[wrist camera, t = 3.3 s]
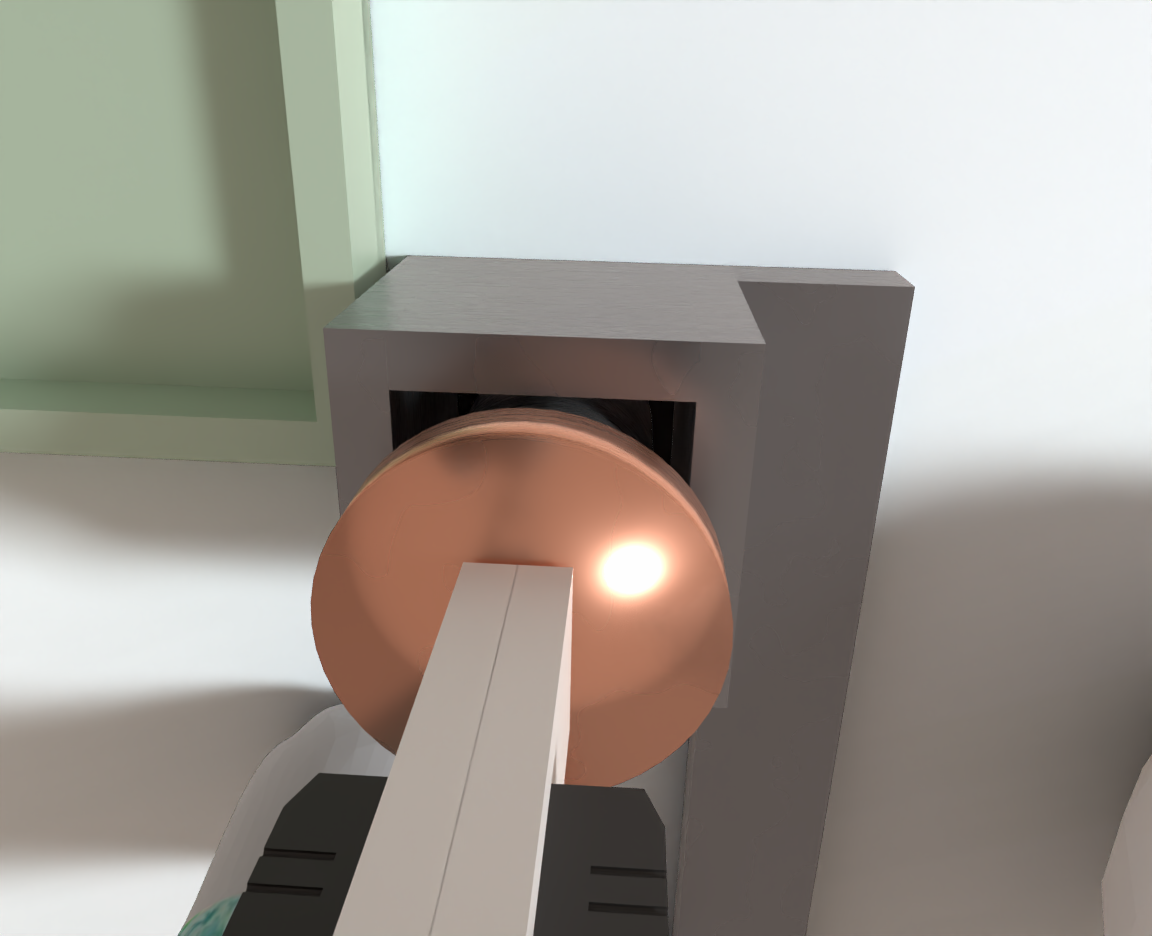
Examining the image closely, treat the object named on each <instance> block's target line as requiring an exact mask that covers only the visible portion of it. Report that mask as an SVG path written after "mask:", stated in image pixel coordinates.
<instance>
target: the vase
mask: <svg viewBox="0 0 1152 936" xmlns="http://www.w3.org/2000/svg"><path fill="white" fill-rule="evenodd" d="M1101 884H1102V904H1103V924H1104V936H1152V755H1151V756H1150V758H1149V759H1148V761H1147V762H1146V764H1145V765H1144V766H1143V768H1142V770H1141V773H1140V775H1139V778H1138V780H1137V783H1136V785H1135V788H1134V790H1133V793H1132V795H1131V797H1130V800H1129V802H1128V805H1127V807H1126V810H1125V812H1124V815H1123V817H1122V820H1121V824H1120V827H1119V830H1118V833H1117V836H1116V839H1115V842H1114V845H1113V848H1112V851H1111V854H1110V857H1109V861H1108V864H1107V867H1106V870H1105V873H1104V876H1103V879H1102V882H1101Z"/></svg>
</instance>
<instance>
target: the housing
mask: <svg viewBox="0 0 1152 936" xmlns="http://www.w3.org/2000/svg"><path fill="white" fill-rule="evenodd" d="M914 289H915V287H914V286H913V285H912V284H911V283H909V282H908V281H907V280H906V279H905V278H903V277H902V276H901V275H900V274H898V273H897V272H896V271H874V270H843V269H812V268H781V267H750V266H719V265H688V264H657V263H626V262H595V261H564V260H533V259H502V258H471V257H440V256H409V255H408V256H407V257H406V258H404V259H403V260H402V261H401V262H400V263H399V264H397V265H396V266H395V267H394V268H393V269H392V270H390V271H389V272H388V273H387V274H386V275H385V276H383V277H382V278H381V279H380V280H379V281H378V282H376V283H375V284H374V285H373V286H372V287H370V288H369V289H368V290H367V291H366V292H365V293H363V294H362V295H361V296H360V297H359V298H358V299H356V300H355V301H354V302H353V303H352V304H351V305H349V306H348V307H347V308H346V309H345V310H343V311H342V312H341V313H340V314H339V315H338V316H336V317H335V318H334V319H333V320H332V321H331V322H329V323H328V324H327V325H326V326H325V327H324V328H323V334H324V345H325V356H326V367H327V378H328V389H329V399H330V410H331V421H332V432H333V443H334V453H335V464H336V475H337V486H338V497H339V508H340V518H341V516H342V515H343V513H344V512H345V510H346V508H347V507H348V505H349V504H350V502H351V501H352V499H353V498H354V496H355V495H356V493H357V492H358V490H359V489H360V487H361V486H362V484H363V483H364V481H365V480H366V478H367V477H368V476H369V474H370V473H371V472H372V471H373V470H374V469H375V468H376V467H377V466H378V465H379V463H380V462H381V461H382V460H383V459H384V458H385V457H387V456H388V455H389V454H390V453H391V452H393V451H394V450H395V449H396V448H398V447H399V446H400V445H401V444H402V443H404V442H406V441H407V440H409V439H411V438H412V437H414V436H416V435H417V434H419V433H420V432H422V431H424V430H426V429H428V428H430V427H433V426H435V425H437V424H440V423H442V422H444V421H447V420H449V419H453V418H456V417H459V410H458V393H477V394H503V395H528V396H554V397H579V398H605V399H630V400H656V401H675V402H674V417H673V432H672V447H671V462H670V466H671V467H672V468H673V469H674V470H675V471H676V472H677V473H678V474H679V475H680V476H681V478H682V479H683V480H684V481H685V482H686V483H687V485H688V486H689V487H690V488H691V489H692V490H693V492H694V493H695V495H696V497H697V498H698V500H699V501H700V503H701V504H702V506H703V507H704V509H705V511H706V512H707V515H708V517H709V519H710V521H711V523H712V526H713V528H714V530H715V532H716V535H717V538H718V542H719V545H720V549H721V552H722V556H723V561H724V567H725V573H726V578H727V584H728V590H729V596H730V602H731V610H732V618H733V647H732V652H731V658H730V663H729V669H728V672H727V675H726V678H725V680H724V683H723V686H722V689H721V692H720V694H719V696H718V697H717V699H716V701H715V703H714V705H713V707H712V709H711V711H710V712H709V714H708V715H707V716H706V718H705V719H704V720H703V722H702V723H701V725H700V726H699V727H698V729H697V730H696V731H695V732H694V733H693V734H692V735H691V736H690V737H689V747H688V758H687V770H686V781H685V793H684V804H683V816H682V827H681V839H680V850H679V862H678V873H677V885H676V896H675V908H674V919H673V931H672V936H805V935H806V929H807V923H808V917H809V911H810V905H811V899H812V893H813V888H814V882H815V876H816V870H817V864H818V858H819V852H820V846H821V840H822V834H823V828H824V822H825V816H826V811H827V805H828V799H829V793H830V787H831V781H832V775H833V769H834V763H835V757H836V751H837V745H838V740H839V734H840V728H841V722H842V716H843V710H844V704H845V698H846V692H847V686H848V680H849V674H850V668H851V663H852V657H853V651H854V645H855V639H856V633H857V627H858V621H859V615H860V609H861V603H862V597H863V591H864V586H865V580H866V574H867V568H868V562H869V556H870V550H871V544H872V538H873V532H874V526H875V520H876V514H877V509H878V503H879V497H880V491H881V485H882V479H883V473H884V467H885V461H886V455H887V449H888V443H889V437H890V432H891V426H892V420H893V414H894V408H895V402H896V396H897V390H898V384H899V378H900V372H901V366H902V360H903V355H904V349H905V343H906V337H907V331H908V325H909V319H910V313H911V307H912V301H913V295H914Z"/></svg>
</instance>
